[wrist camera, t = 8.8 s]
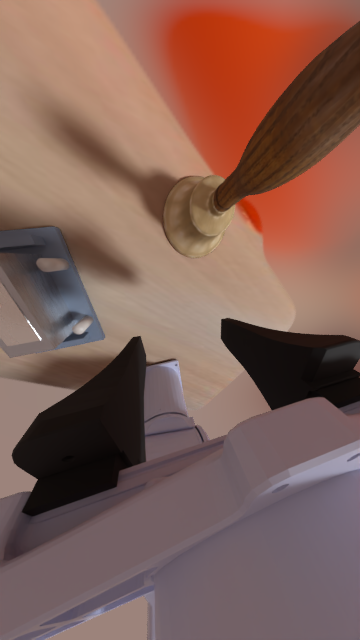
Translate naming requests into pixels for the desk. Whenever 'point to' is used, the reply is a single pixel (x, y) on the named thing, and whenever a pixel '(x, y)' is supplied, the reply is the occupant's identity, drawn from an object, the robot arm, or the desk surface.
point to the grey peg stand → (58, 277)
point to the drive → (30, 307)
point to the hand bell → (273, 147)
